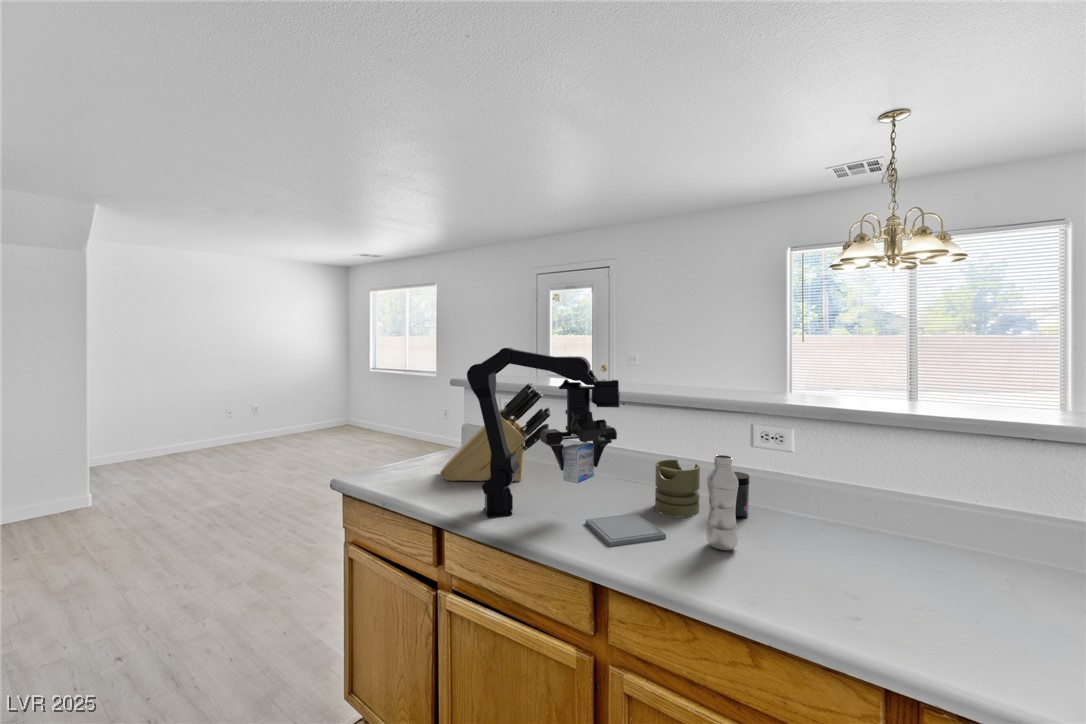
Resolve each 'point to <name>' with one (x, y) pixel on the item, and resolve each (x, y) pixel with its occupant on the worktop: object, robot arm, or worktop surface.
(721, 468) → the plastic bottle
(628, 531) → the slate pad
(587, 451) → the medicine box
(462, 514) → the worktop surface
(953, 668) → the worktop surface
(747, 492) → the supplement container
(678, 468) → the piston
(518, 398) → the knife block
